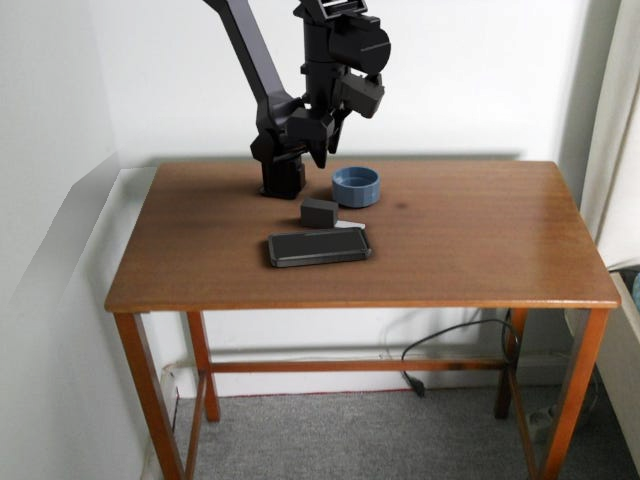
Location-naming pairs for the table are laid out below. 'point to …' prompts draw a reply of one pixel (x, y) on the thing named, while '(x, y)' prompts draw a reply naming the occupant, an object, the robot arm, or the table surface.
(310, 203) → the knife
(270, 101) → the robot arm
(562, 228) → the table surface
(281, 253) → the phone
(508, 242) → the table surface
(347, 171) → the bowl
